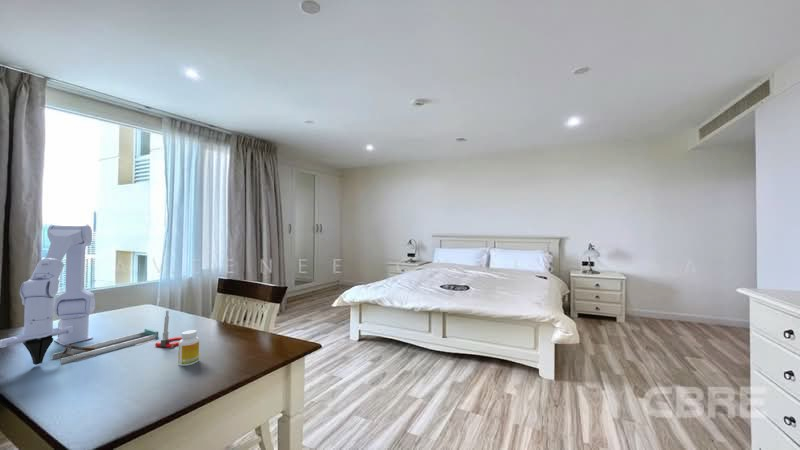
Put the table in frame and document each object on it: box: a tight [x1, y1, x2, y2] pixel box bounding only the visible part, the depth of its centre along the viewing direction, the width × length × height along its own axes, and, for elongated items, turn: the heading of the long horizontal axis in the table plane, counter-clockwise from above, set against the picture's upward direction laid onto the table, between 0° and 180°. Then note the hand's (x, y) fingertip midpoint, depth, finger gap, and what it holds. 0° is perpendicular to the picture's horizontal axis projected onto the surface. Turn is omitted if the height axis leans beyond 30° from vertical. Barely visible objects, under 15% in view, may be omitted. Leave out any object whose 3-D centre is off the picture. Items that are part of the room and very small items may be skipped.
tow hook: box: [154, 310, 182, 349], centre depth 114 cm, size 8×13×9 cm
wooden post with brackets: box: [59, 343, 97, 359], centre depth 101 cm, size 2×8×4 cm, turn 140°
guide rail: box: [51, 327, 159, 365], centre depth 108 cm, size 10×26×2 cm, turn 153°
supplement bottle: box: [177, 329, 200, 367], centre depth 97 cm, size 5×5×10 cm
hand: (37, 363), depth 93 cm, fingers closed
